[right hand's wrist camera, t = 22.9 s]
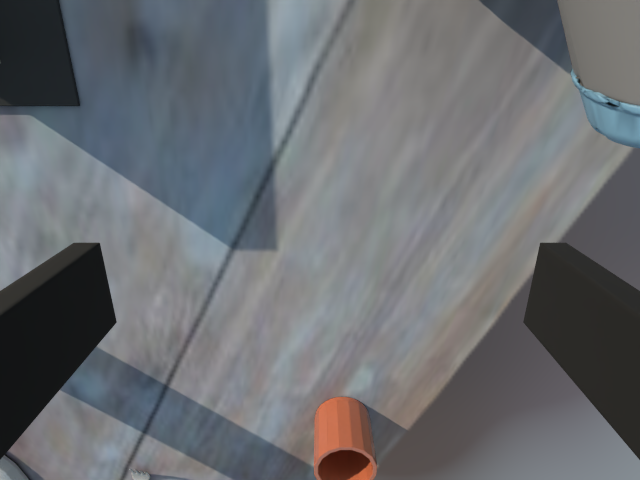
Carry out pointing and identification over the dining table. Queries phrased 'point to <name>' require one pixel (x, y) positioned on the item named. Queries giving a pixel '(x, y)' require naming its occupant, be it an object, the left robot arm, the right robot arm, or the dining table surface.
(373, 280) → the dining table surface
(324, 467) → the terracotta pot
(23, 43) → the dark rubber mat
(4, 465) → the wall clock
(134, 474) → the fork
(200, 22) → the dining table surface
